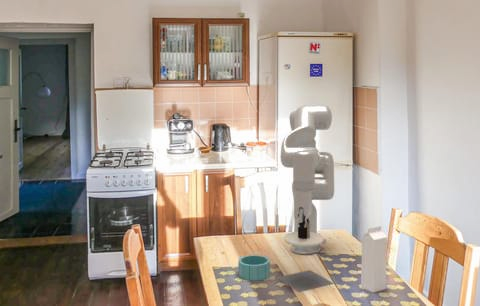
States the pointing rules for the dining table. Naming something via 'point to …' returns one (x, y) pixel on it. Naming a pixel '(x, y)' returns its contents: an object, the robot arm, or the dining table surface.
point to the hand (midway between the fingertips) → (303, 235)
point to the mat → (304, 280)
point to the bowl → (254, 267)
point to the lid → (309, 241)
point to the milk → (374, 260)
